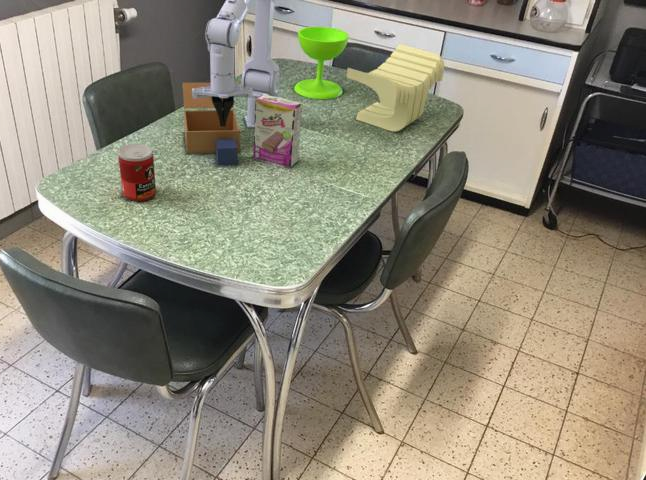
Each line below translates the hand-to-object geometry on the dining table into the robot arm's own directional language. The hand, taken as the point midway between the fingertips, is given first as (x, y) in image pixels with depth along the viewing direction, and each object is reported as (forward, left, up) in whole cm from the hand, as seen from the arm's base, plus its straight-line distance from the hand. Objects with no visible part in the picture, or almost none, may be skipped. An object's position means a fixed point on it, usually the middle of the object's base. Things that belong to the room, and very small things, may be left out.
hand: (222, 124), depth 161 cm
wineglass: (-36, -48, -10) cm, 61 cm away
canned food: (+21, +16, -10) cm, 28 cm away
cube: (-1, +1, -10) cm, 10 cm away
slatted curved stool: (-53, -23, -10) cm, 58 cm away
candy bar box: (-14, +1, -10) cm, 17 cm away
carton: (+2, -10, -10) cm, 15 cm away
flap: (+2, -19, 0) cm, 19 cm away
